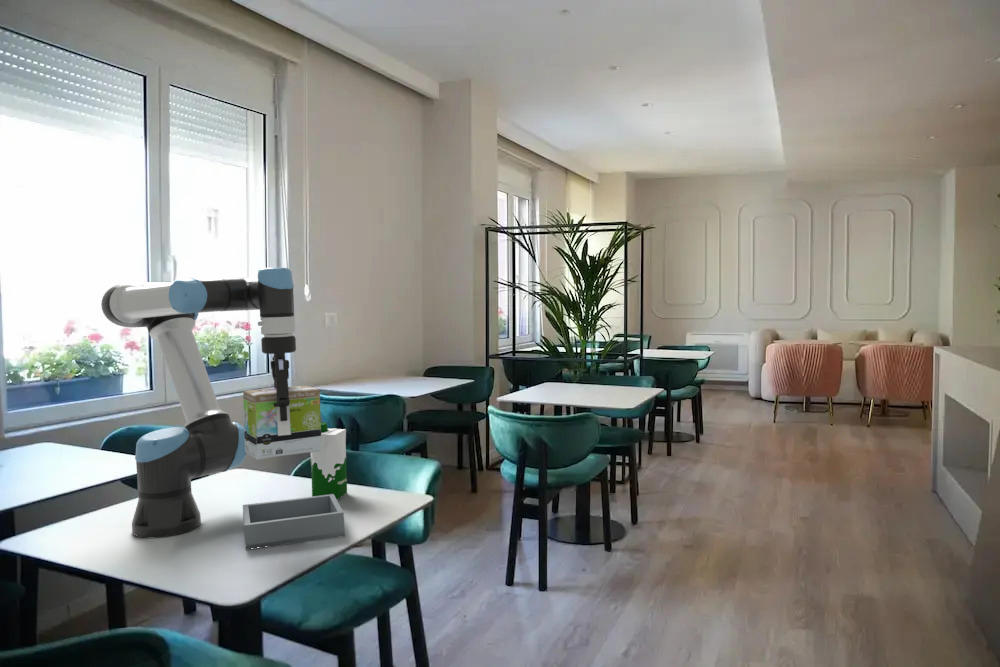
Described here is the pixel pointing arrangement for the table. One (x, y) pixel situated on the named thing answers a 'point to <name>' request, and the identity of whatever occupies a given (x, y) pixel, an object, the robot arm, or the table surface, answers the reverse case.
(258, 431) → the tea box
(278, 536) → the walled tray
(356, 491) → the table surface
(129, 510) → the table surface
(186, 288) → the robot arm
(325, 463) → the milk carton
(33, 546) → the table surface
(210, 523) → the table surface
